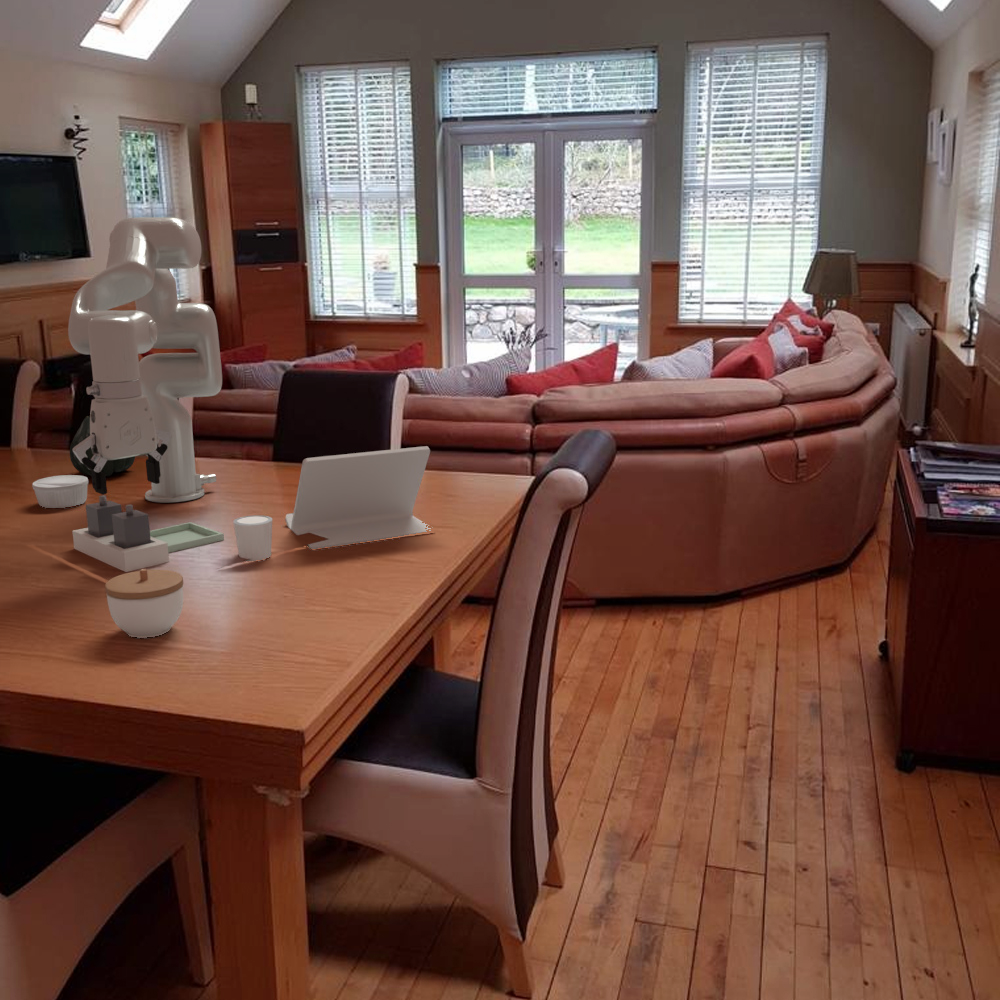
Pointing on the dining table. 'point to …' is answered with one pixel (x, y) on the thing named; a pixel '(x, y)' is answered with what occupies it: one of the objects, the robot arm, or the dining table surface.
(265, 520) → the white cup
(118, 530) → the plug
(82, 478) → the ramekin
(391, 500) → the tablet stand
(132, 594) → the lidded jar
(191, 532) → the tray
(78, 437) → the squash
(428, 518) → the dining table surface
